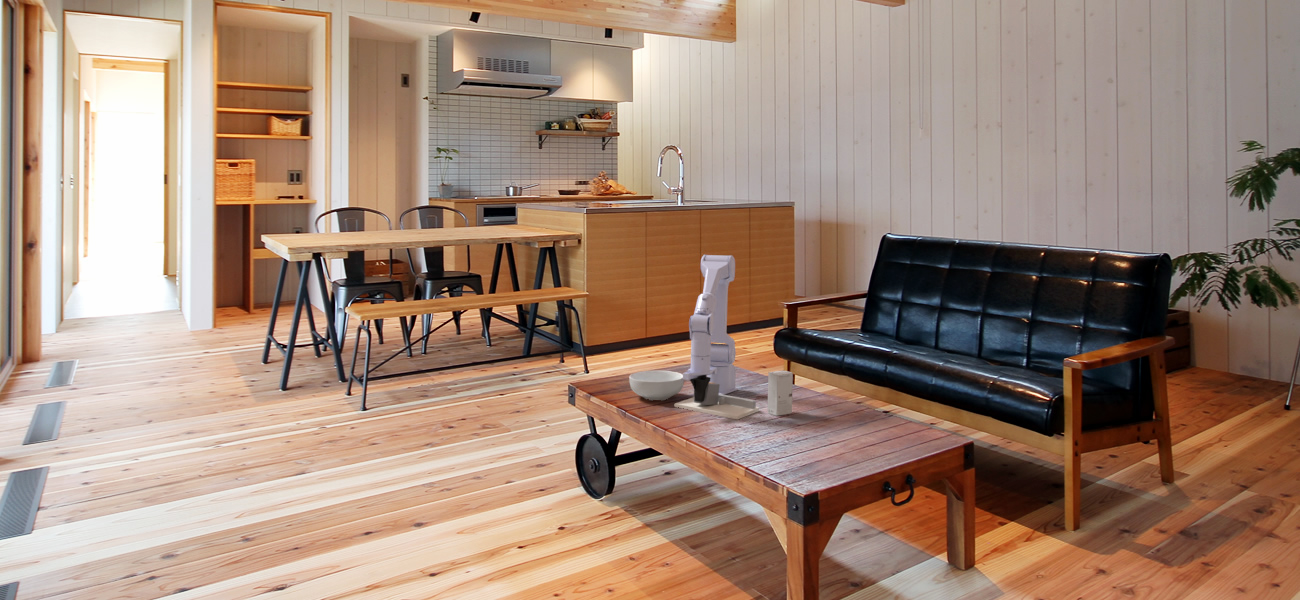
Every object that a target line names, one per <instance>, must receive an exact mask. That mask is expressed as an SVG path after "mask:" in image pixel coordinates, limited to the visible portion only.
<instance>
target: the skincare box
mask: <svg viewBox="0 0 1300 600" xmlns="http://www.w3.org/2000/svg"><path fill="white" fill-rule="evenodd" d="M793 375H794V374H793V372H792V371H788V370H783V369H782V370H774V371H770V372H769V371H768V379H767V380H768V381H767V413H768V414H769V415H771V416H775V417H778V416H784V415H788V414H789V415H790V414H792V413H793V381H794V377H793Z"/></svg>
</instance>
